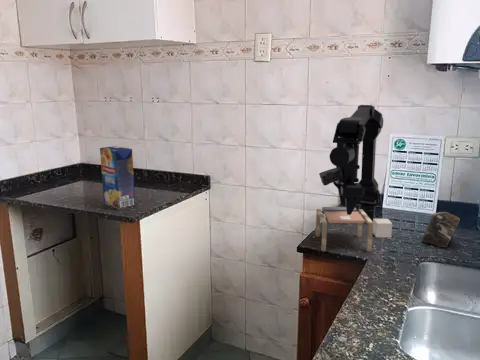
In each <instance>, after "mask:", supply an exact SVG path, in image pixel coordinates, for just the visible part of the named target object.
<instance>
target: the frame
mask: <svg viewBox="0 0 480 360" xmlns="http://www.w3.org/2000/svg"><path fill="white" fill-rule="evenodd" d="M324 212H347V211H322V209H321V208H317V209H316V212H315V213H316V214H315V215H316V217H315V237H318V238H320V235H321V248H320V250H321V252H326V251H327V231H328V230H327V229H328V220H327V218H326V216H325V214H323V213H324ZM353 212H359V214H360V215H361V216H362V218H364V220H365V221H366V222H365V223H366V224H367V235H366V237H367V238H366V252H368V253H370V252H372V248H373V247H372V245H373V235H374V234H373V222H372V220H371V219H370V218H369V217H368V216H367V214H366V213H365V212H364V211H363V209H359V208H358V210H357V211H353ZM362 232H363V223H357V231H356V237H357V238H362V234H363V233H362ZM320 233H321V234H320Z"/></svg>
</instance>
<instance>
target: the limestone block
mask: <svg viewBox="0 0 480 360" xmlns="http://www.w3.org/2000/svg"><path fill="white" fill-rule="evenodd" d="M392 231H393V222H391V220H390V219H389V218H376V219H373V234H372V235H373V236H375V237H376V238H392V234H393V233H392Z"/></svg>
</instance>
